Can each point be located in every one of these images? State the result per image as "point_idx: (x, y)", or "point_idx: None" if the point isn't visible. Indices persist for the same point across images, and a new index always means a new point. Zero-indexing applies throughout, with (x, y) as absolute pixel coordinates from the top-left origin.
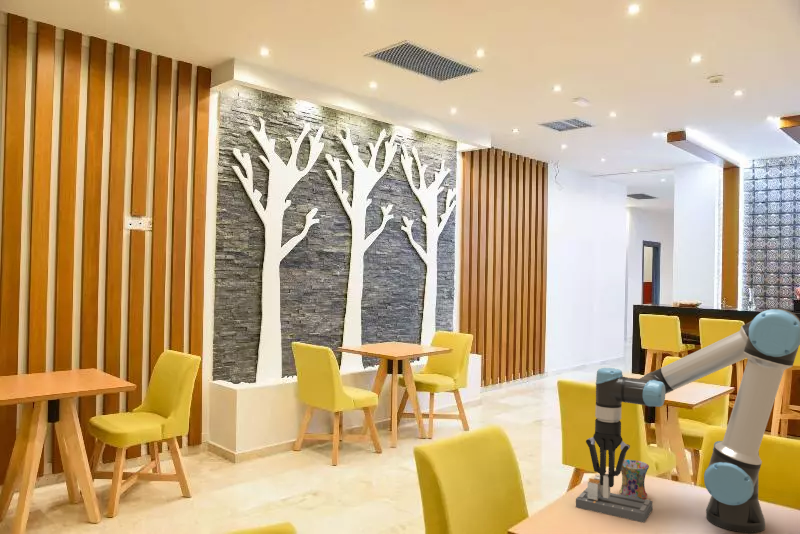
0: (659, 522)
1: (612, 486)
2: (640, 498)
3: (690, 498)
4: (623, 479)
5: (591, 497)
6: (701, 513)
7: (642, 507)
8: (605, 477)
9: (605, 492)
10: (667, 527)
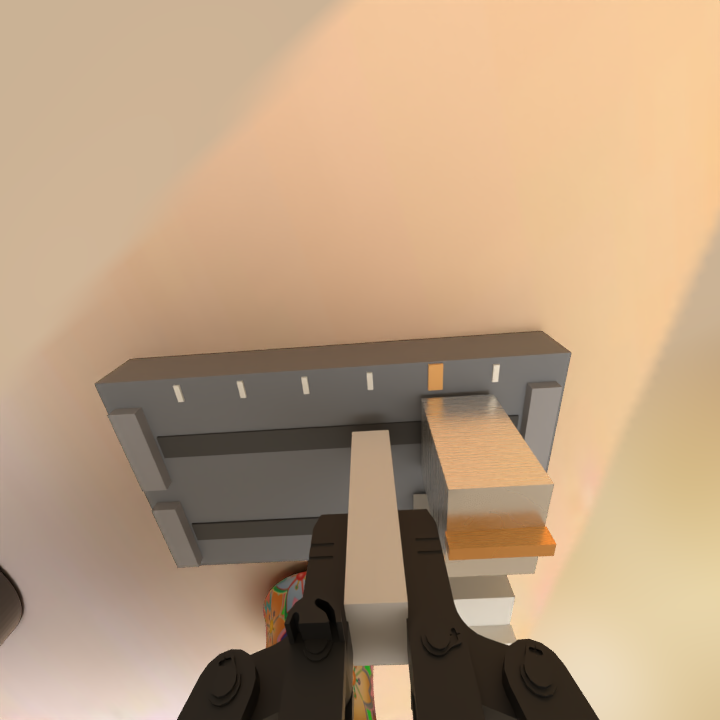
0: (83, 412)
1: (320, 527)
2: (275, 587)
3: (157, 672)
4: (357, 680)
5: (468, 402)
6: (43, 591)
7: (145, 456)
8: (380, 588)
9: (371, 458)
10: (15, 376)
